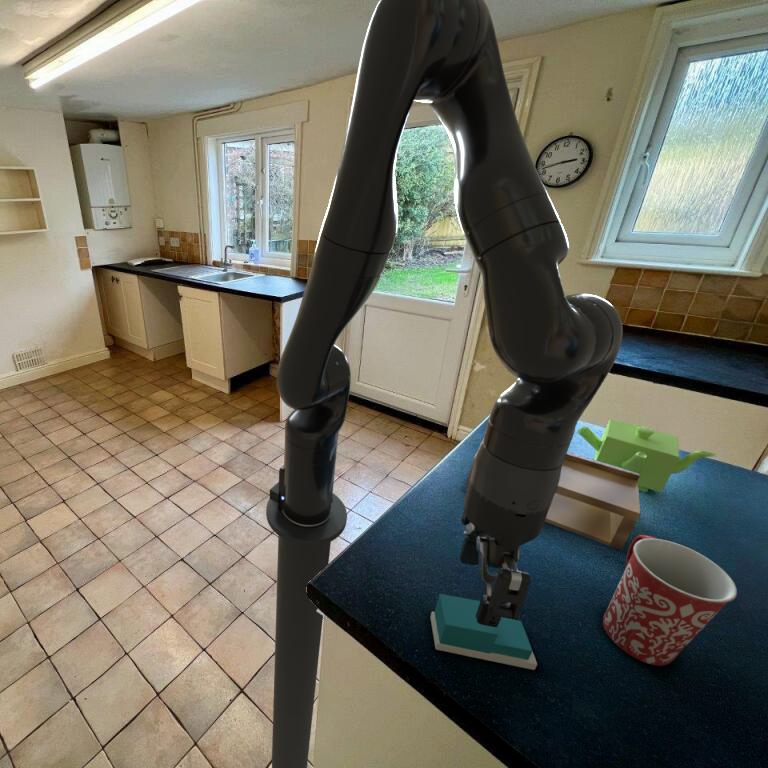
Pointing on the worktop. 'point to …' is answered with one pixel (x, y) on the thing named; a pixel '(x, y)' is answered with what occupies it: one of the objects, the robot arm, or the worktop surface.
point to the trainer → (479, 634)
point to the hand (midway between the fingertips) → (476, 590)
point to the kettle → (641, 452)
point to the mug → (664, 599)
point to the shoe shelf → (594, 500)
